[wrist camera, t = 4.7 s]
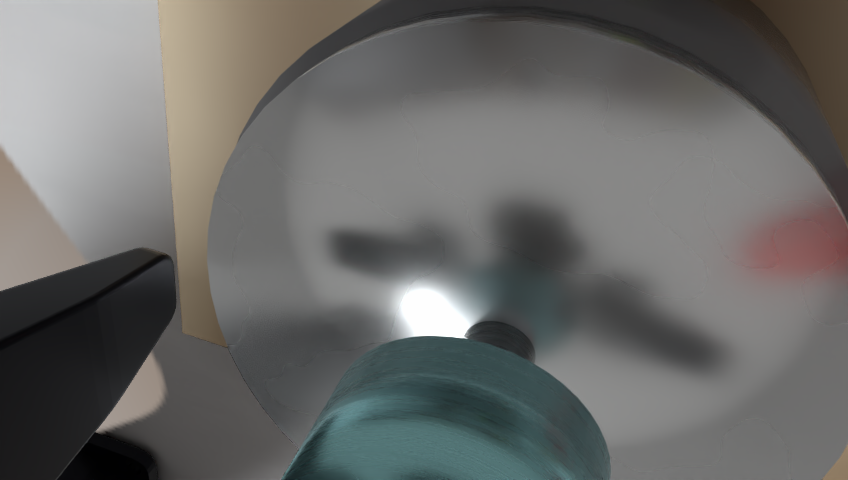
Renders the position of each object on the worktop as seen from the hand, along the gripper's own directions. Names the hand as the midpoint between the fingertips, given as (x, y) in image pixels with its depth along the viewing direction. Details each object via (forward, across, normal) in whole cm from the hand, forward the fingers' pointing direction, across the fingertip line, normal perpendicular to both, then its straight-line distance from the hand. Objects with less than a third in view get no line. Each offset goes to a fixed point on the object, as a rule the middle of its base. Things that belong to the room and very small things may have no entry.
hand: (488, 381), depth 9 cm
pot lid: (+1, 0, 0) cm, 1 cm away
